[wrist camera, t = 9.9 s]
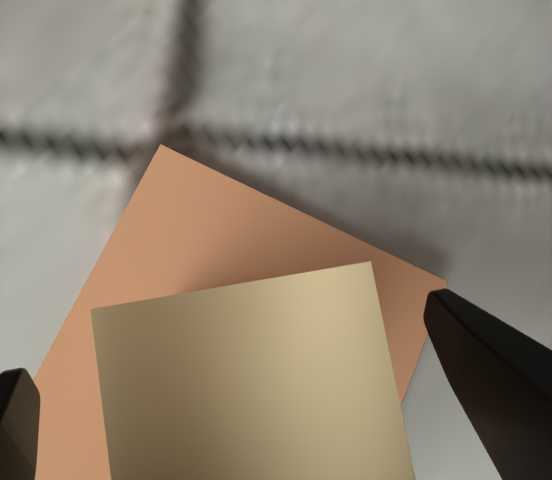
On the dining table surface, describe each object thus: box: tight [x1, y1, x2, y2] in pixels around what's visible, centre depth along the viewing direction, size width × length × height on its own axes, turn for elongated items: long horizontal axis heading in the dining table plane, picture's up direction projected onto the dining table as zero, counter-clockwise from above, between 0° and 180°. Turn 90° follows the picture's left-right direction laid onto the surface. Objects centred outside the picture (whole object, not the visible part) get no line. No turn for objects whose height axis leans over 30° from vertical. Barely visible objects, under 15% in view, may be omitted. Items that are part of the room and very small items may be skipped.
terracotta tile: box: [33, 144, 447, 480], centre depth 18 cm, size 13×13×1 cm
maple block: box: [90, 261, 415, 480], centre depth 13 cm, size 5×5×10 cm
